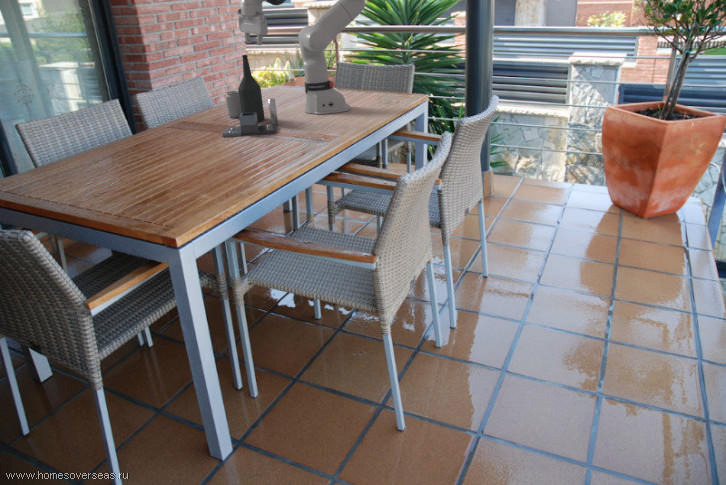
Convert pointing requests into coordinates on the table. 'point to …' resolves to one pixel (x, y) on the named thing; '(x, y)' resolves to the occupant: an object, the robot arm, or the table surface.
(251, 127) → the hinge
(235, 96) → the can
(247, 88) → the bottle
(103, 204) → the table surface
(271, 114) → the pin
